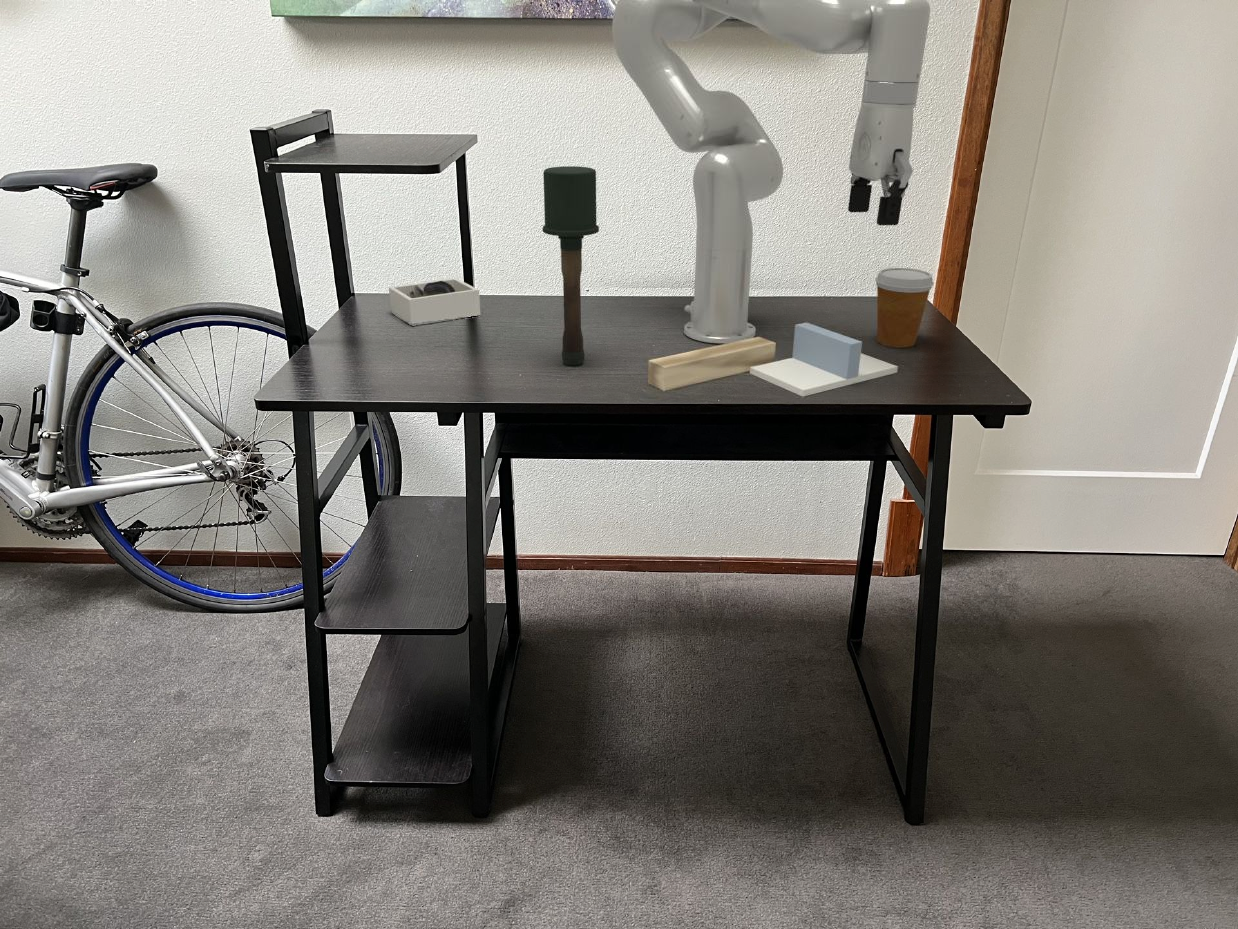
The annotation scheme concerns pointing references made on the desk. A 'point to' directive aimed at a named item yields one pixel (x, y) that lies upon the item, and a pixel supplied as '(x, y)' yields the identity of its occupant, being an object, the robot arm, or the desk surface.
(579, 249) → the potato masher grenade
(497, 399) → the desk surface
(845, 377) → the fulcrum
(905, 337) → the disposable coffee cup
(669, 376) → the rod
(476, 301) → the beige open storage bin
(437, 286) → the eagle figurine
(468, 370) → the desk surface
